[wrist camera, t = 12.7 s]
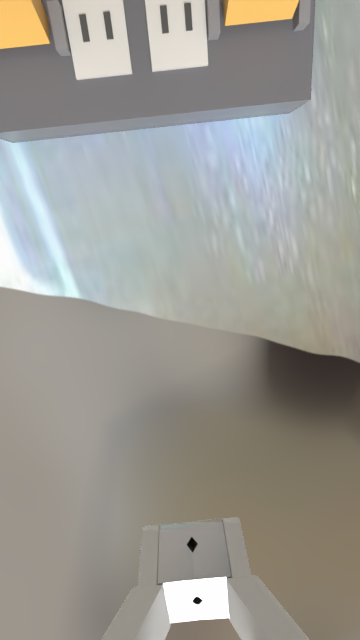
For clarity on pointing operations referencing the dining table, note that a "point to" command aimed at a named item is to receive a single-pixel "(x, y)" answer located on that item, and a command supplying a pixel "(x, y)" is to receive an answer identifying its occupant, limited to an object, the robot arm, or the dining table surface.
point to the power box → (152, 68)
